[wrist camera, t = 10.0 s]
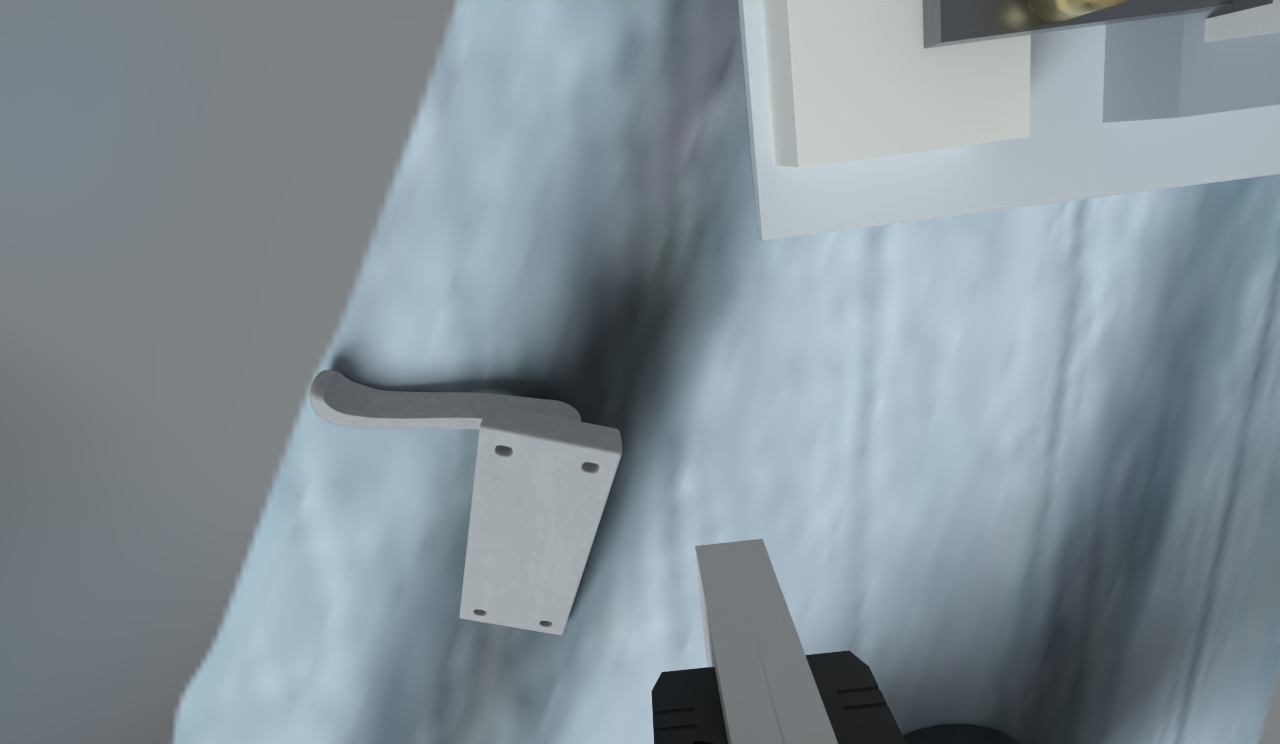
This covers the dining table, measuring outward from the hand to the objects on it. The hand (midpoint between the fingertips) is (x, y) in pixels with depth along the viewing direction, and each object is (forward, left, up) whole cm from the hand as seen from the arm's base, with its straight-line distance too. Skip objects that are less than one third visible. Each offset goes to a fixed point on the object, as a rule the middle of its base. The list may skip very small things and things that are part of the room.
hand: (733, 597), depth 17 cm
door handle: (-9, +14, -31) cm, 35 cm away
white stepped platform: (+14, -21, -30) cm, 39 cm away
